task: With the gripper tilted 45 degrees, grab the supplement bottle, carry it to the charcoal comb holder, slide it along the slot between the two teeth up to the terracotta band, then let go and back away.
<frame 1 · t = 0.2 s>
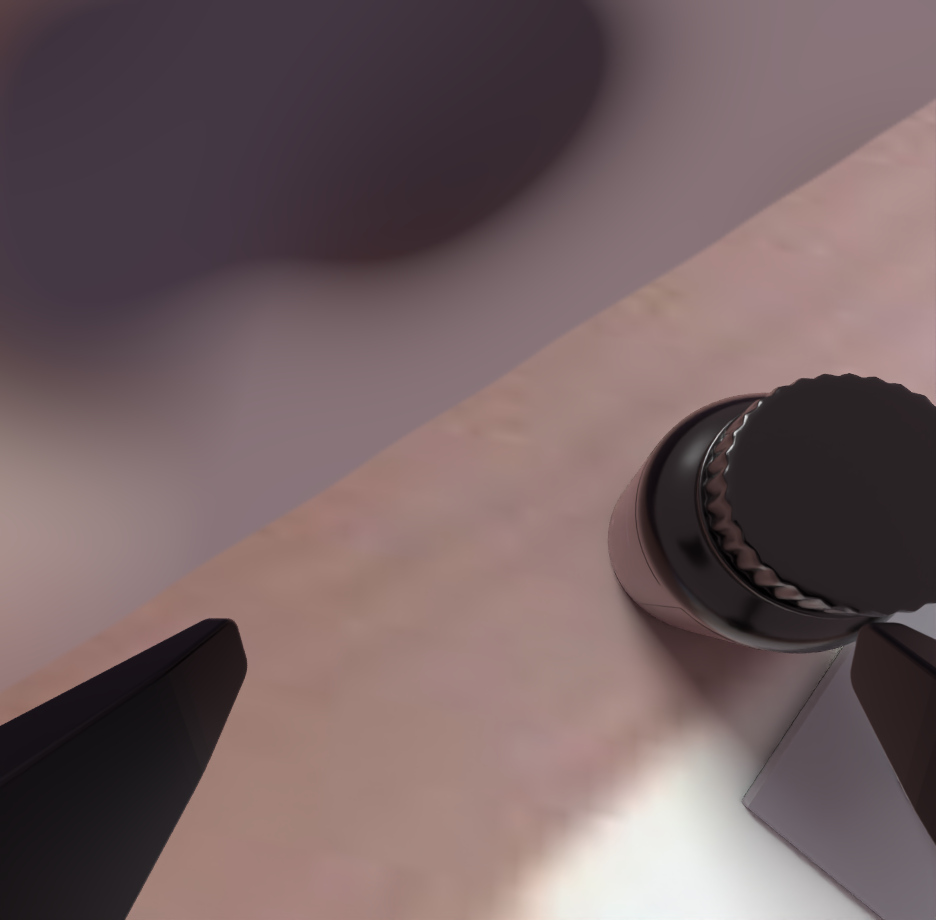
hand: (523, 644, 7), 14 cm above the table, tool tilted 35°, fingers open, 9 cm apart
supplement bottle: (687, 543, 21), on the table
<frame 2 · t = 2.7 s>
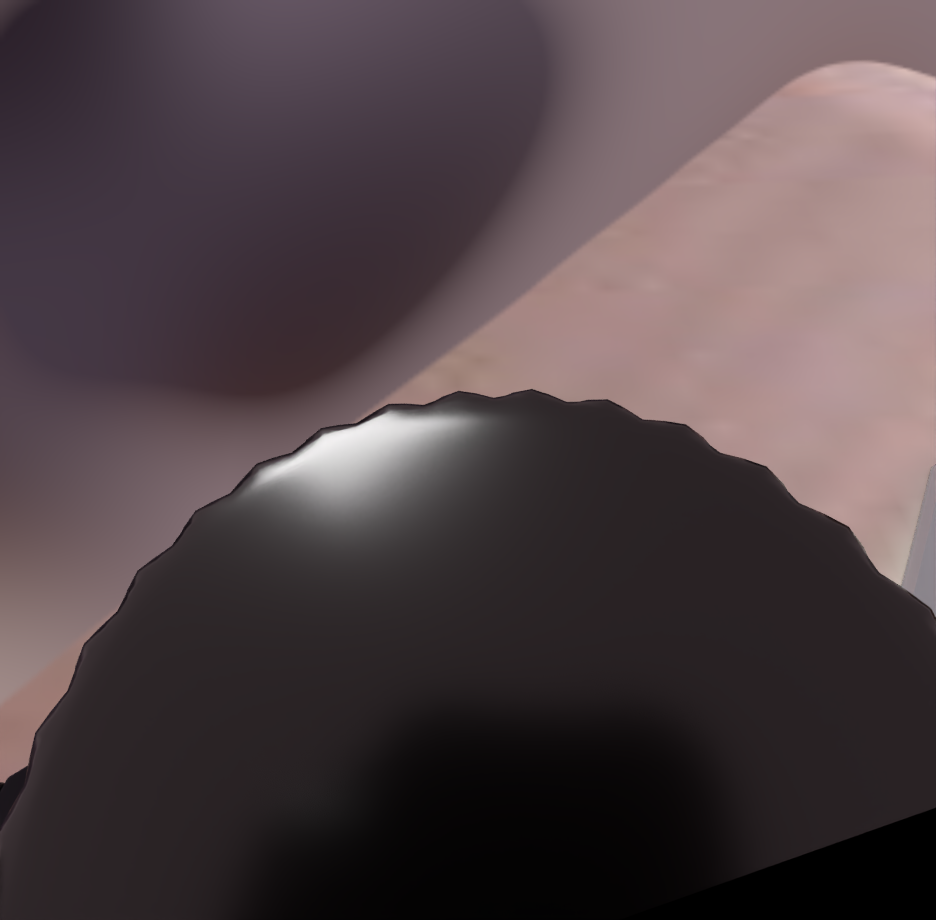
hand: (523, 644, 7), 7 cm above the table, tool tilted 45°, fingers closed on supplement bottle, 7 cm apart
supplement bottle: (538, 729, 13), on the table, touching gripper
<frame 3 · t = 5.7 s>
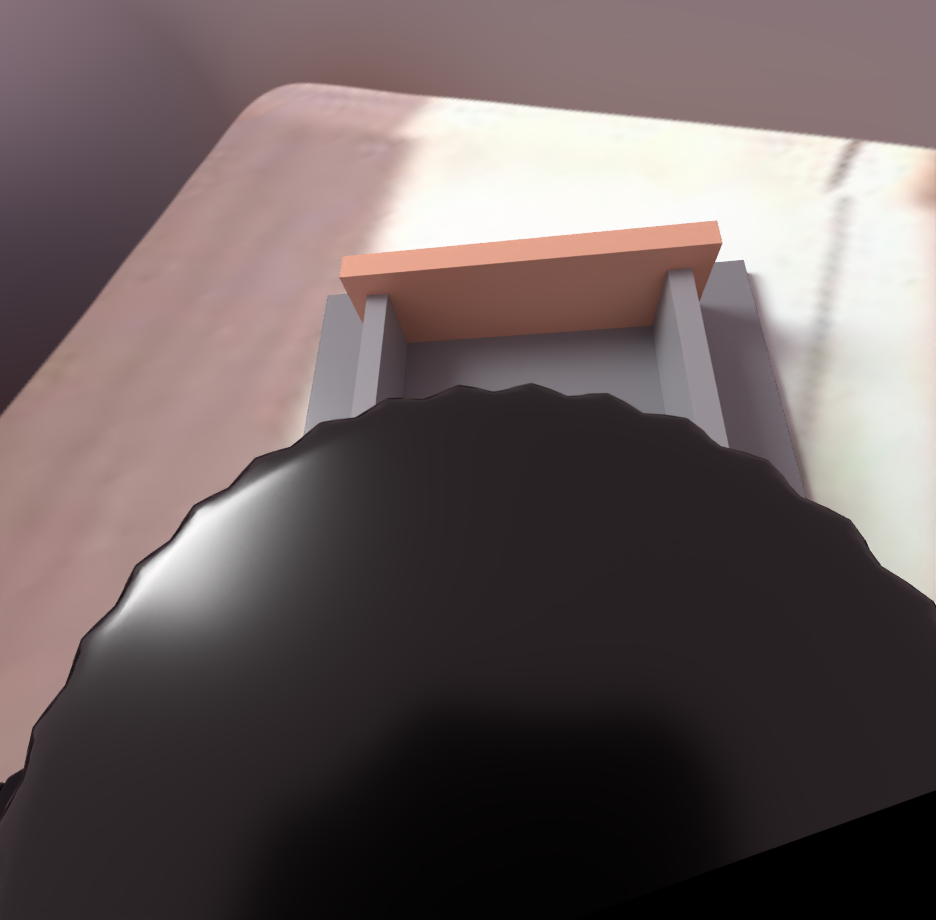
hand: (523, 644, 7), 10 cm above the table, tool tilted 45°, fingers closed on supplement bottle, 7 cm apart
supplement bottle: (538, 727, 13), point 3 cm above the table, touching gripper
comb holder: (528, 427, 20), on the table
when the fingers open (8 cm above the table, at t = 9.0 s): supplement bottle drops 1 cm, resting on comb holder.
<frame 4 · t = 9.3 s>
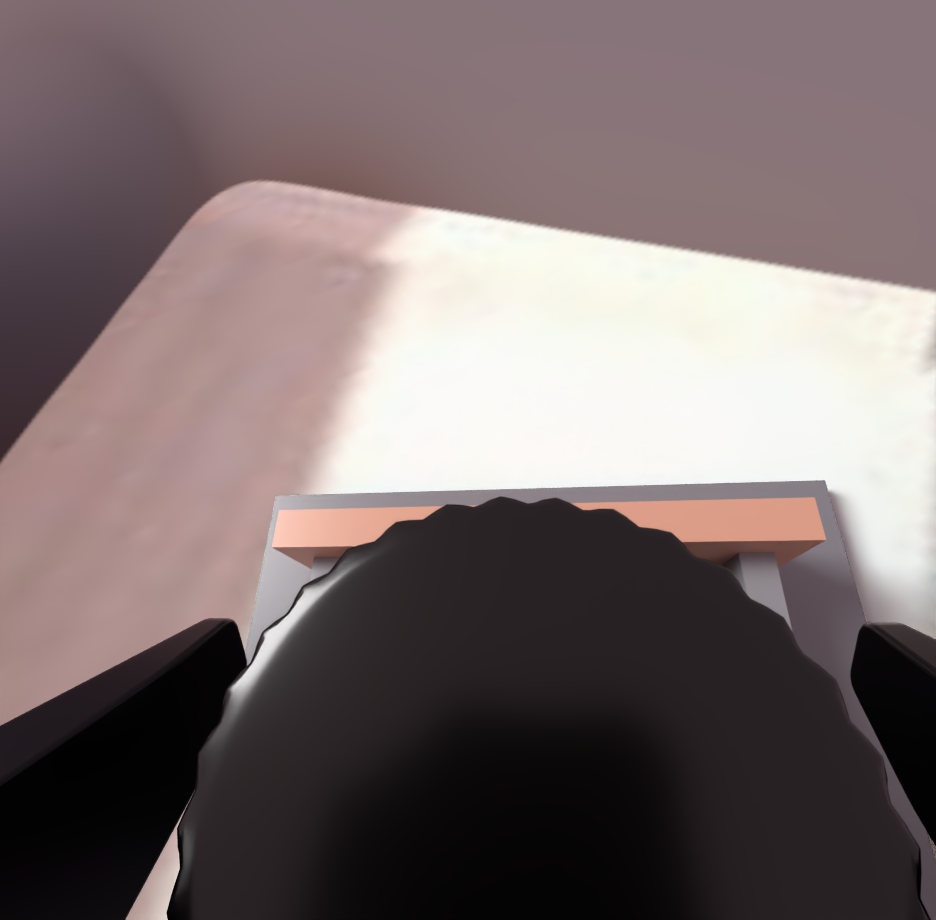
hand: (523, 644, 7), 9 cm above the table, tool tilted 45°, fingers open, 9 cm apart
supplement bottle: (542, 736, 14), resting on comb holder
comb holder: (537, 725, 15), on the table
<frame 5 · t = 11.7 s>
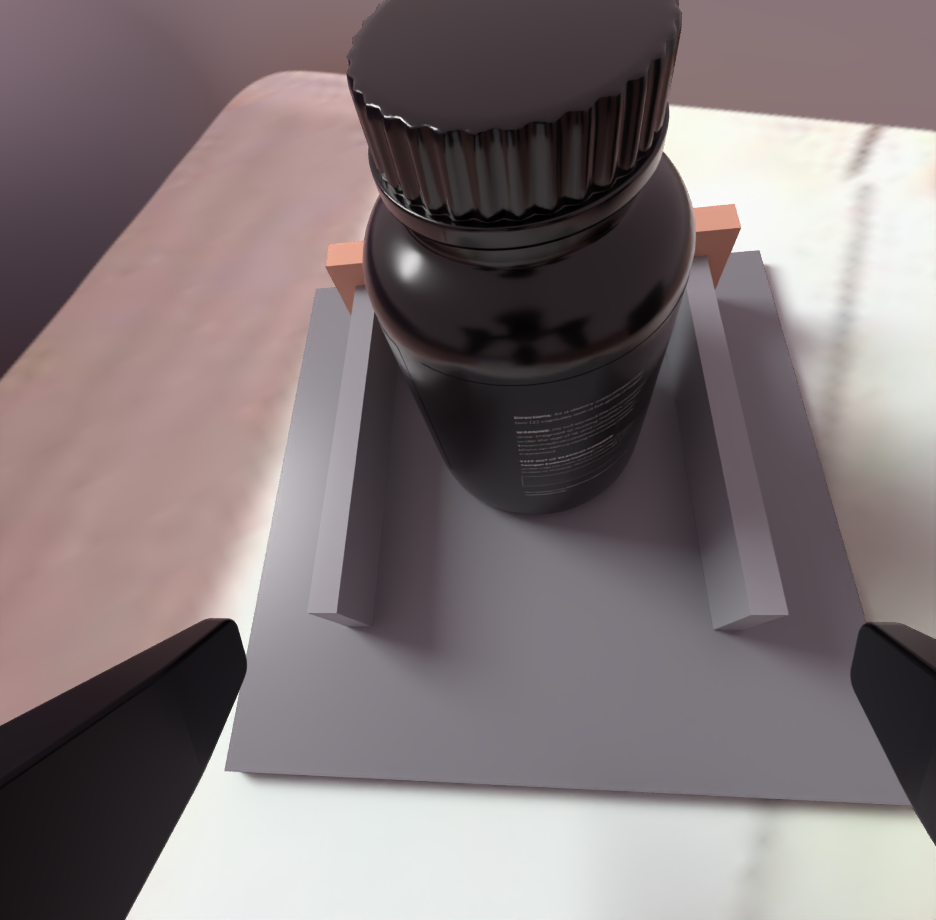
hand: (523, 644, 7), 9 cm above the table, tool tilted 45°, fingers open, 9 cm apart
supplement bottle: (533, 429, 18), resting on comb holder
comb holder: (529, 428, 19), on the table
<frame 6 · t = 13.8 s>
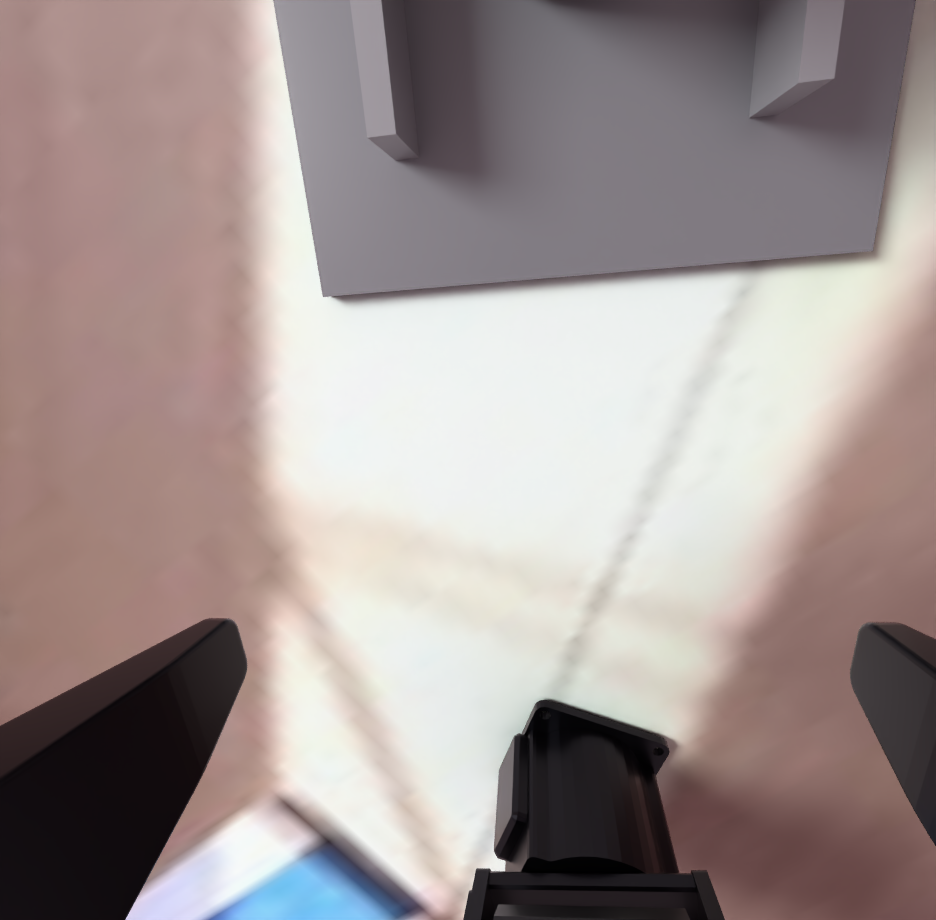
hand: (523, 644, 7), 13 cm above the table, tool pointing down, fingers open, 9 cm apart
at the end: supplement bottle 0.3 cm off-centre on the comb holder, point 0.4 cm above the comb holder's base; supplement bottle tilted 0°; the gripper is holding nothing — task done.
